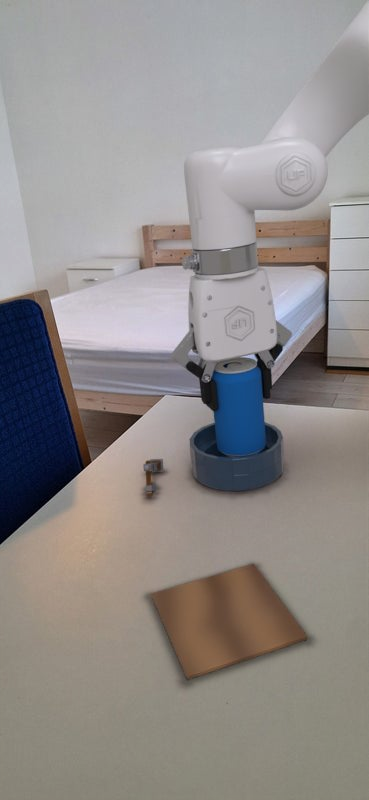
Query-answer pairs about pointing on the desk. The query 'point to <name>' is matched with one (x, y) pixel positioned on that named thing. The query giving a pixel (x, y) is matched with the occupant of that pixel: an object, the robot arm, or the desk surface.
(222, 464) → the bowl
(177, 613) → the coaster
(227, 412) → the beverage can
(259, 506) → the desk surface
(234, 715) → the desk surface
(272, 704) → the desk surface
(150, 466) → the wooden post with brackets
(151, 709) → the desk surface
